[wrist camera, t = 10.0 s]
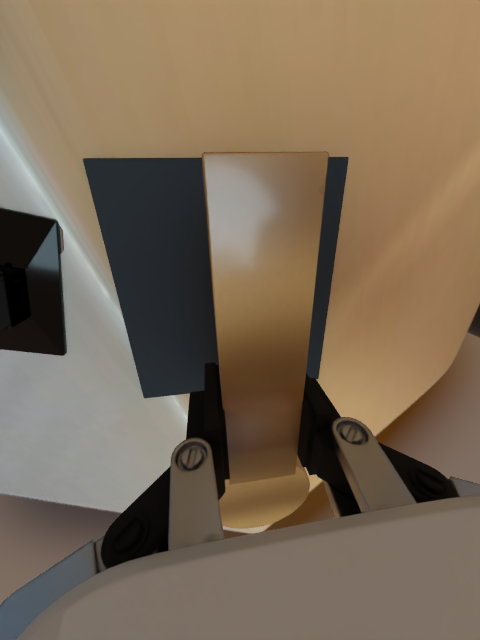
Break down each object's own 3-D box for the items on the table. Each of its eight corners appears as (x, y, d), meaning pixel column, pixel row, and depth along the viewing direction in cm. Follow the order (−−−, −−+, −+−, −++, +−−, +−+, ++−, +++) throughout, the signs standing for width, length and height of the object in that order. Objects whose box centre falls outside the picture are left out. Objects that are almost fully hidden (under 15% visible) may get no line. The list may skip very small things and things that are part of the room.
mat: (344, 158, 19) (349, 156, 19) (316, 375, 28) (318, 379, 28) (86, 160, 17) (82, 158, 17) (145, 394, 26) (143, 398, 26)
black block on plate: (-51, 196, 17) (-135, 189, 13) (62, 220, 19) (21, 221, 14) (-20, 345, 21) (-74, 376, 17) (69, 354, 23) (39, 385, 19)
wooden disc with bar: (158, 175, 8) (130, 152, 5) (326, 172, 9) (388, 150, 6) (207, 499, 16) (207, 564, 13) (294, 484, 16) (313, 543, 13)
